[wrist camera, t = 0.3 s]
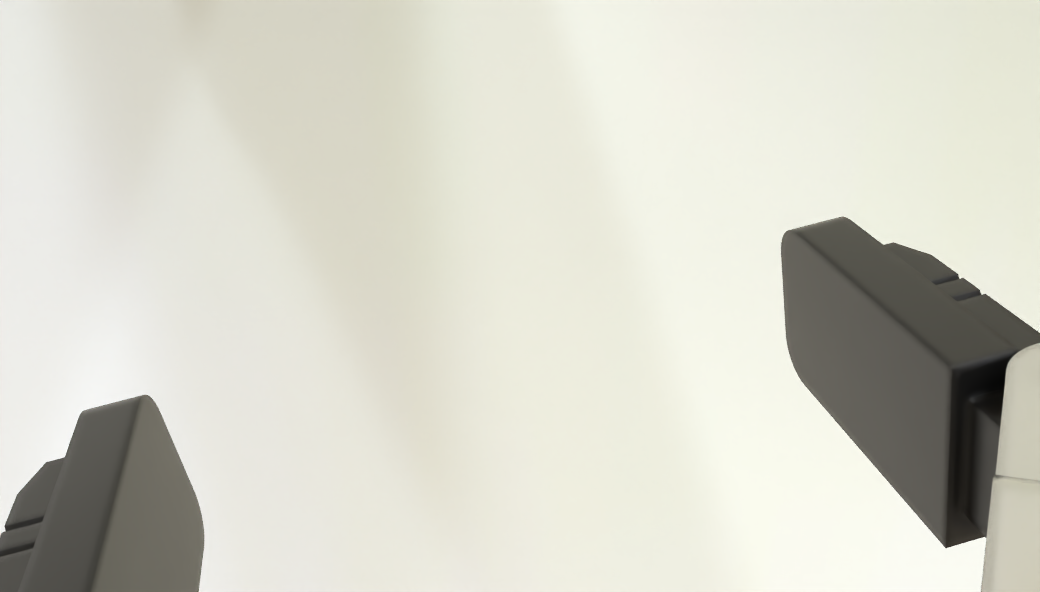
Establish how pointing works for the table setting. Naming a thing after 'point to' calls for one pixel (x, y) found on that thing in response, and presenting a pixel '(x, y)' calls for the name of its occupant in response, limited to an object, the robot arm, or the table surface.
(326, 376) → the table surface
